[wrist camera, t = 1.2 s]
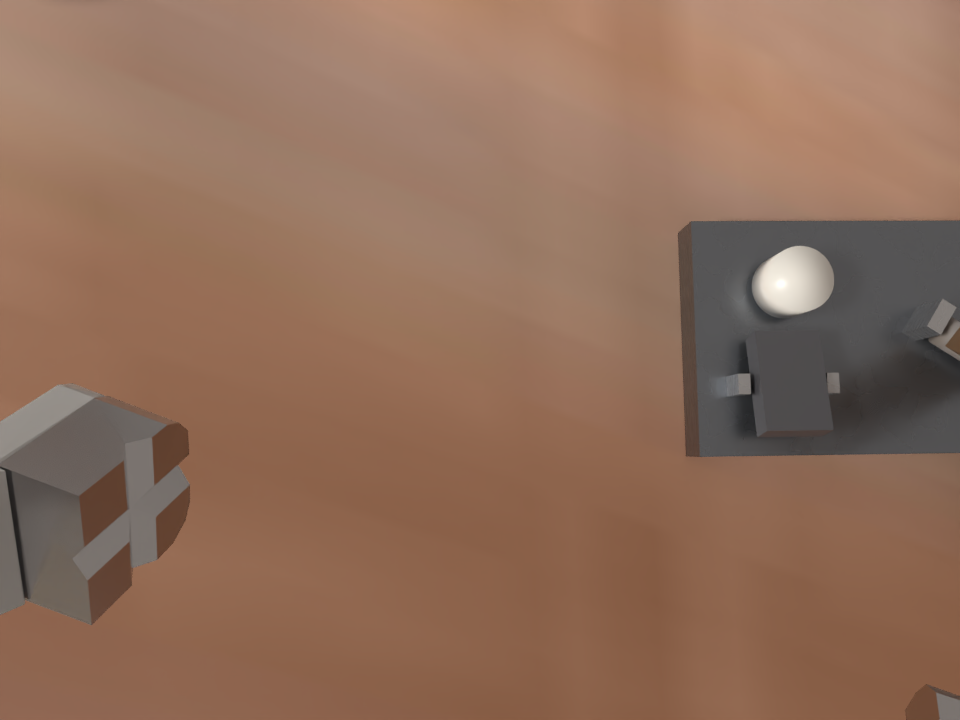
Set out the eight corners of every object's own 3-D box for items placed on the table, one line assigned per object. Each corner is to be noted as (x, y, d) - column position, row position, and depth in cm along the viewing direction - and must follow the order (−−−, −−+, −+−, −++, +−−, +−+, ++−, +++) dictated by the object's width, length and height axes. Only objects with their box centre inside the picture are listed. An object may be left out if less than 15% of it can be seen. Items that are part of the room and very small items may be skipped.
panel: (678, 232, 49) (704, 209, 44) (1036, 231, 50) (1102, 208, 45) (686, 456, 47) (714, 457, 43) (1053, 450, 48) (1121, 451, 44)
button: (750, 256, 46) (767, 245, 43) (812, 256, 46) (832, 245, 44) (753, 318, 45) (770, 311, 43) (815, 318, 46) (836, 311, 43)
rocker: (745, 339, 45) (754, 330, 44) (808, 339, 45) (819, 330, 44) (757, 437, 44) (767, 430, 42) (821, 436, 44) (833, 430, 42)
